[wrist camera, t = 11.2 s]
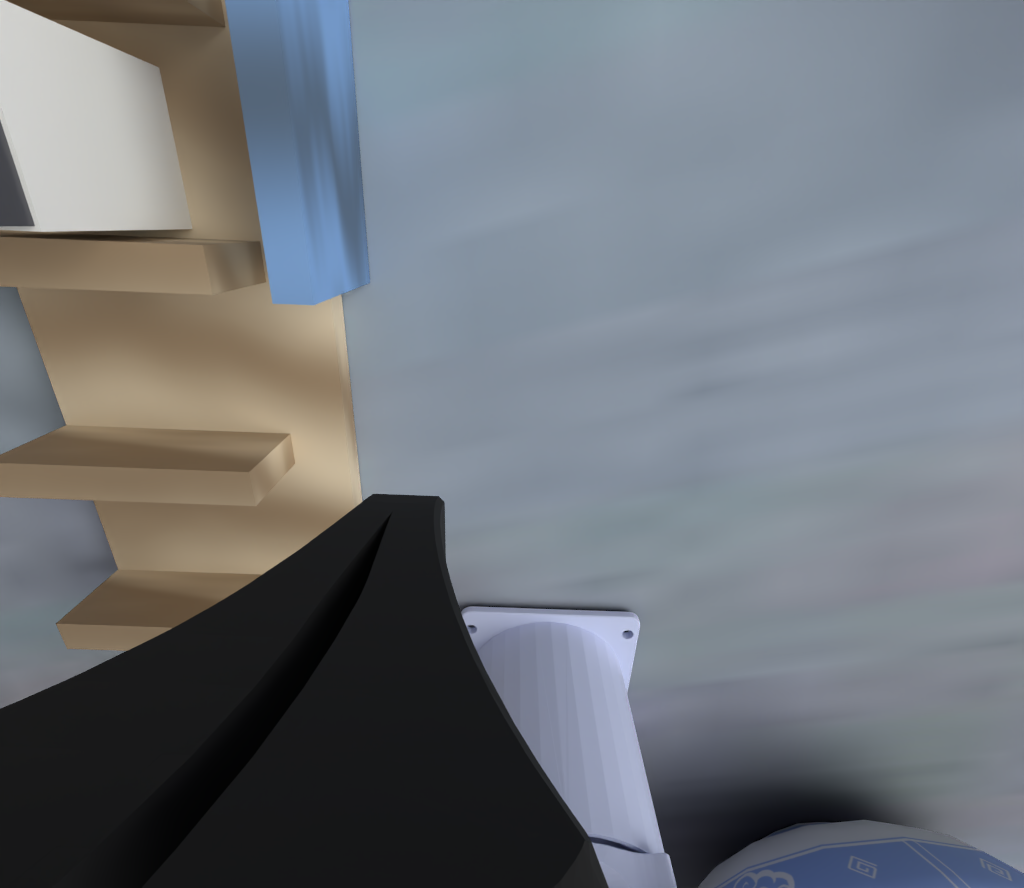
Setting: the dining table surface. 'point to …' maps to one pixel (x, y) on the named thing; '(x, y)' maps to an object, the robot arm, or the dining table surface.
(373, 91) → the dining table surface
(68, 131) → the grey rectangular block
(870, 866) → the ramen bowl
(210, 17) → the cable comb
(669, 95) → the dining table surface
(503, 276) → the dining table surface
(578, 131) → the dining table surface
